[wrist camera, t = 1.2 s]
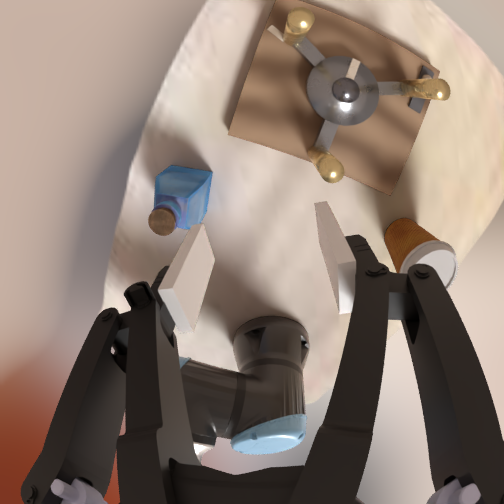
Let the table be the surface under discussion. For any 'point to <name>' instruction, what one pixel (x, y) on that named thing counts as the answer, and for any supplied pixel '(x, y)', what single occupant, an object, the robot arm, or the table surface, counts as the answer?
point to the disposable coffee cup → (420, 250)
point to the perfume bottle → (179, 199)
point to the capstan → (344, 91)
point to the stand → (308, 121)
